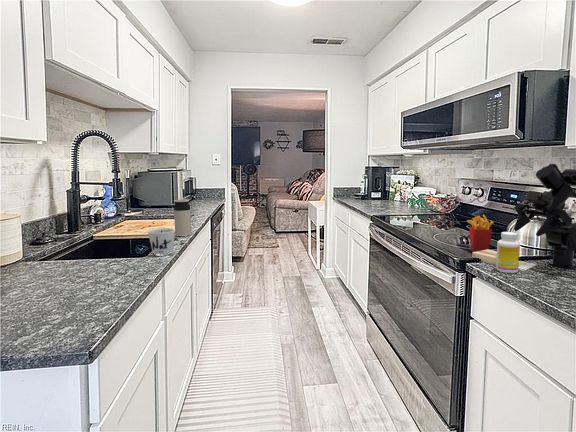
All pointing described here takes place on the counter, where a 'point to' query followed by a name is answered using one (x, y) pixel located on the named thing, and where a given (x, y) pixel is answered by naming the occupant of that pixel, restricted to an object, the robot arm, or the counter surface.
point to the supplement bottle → (508, 253)
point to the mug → (162, 240)
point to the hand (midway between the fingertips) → (525, 232)
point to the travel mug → (182, 217)
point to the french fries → (480, 234)
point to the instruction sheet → (525, 265)
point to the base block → (486, 256)
